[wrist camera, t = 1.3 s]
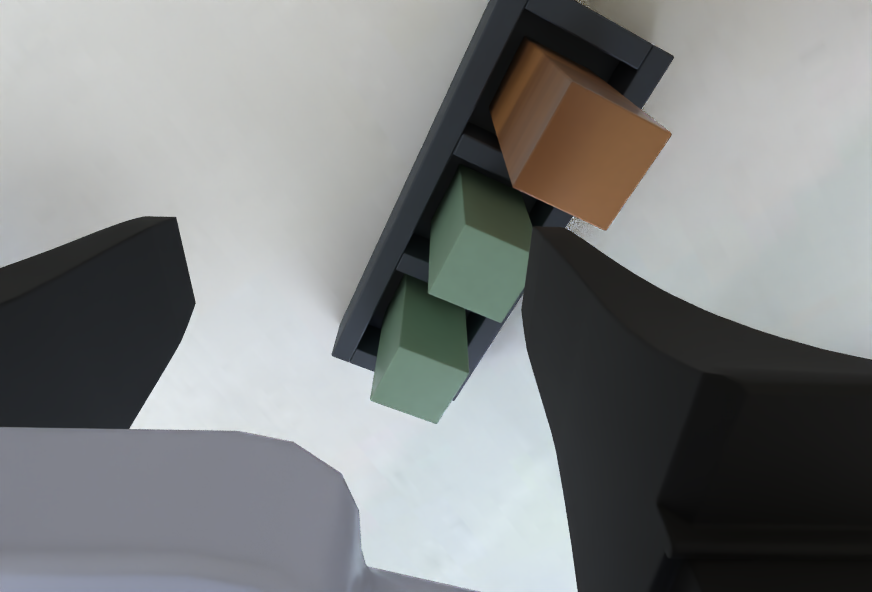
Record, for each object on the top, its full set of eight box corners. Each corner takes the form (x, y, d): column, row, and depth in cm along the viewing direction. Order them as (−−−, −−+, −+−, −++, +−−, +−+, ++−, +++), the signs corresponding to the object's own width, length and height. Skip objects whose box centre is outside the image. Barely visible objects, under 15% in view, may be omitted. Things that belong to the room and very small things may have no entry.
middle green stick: (521, 192, 22) (543, 258, 17) (489, 247, 23) (501, 323, 18) (460, 163, 21) (465, 223, 16) (430, 221, 22) (427, 293, 18)
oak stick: (591, 70, 19) (674, 134, 12) (551, 139, 21) (606, 232, 14) (524, 35, 19) (572, 81, 12) (488, 108, 20) (511, 187, 13)
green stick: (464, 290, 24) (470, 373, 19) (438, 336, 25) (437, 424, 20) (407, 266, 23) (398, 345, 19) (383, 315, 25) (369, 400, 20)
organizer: (651, 46, 19) (675, 57, 17) (453, 368, 26) (454, 401, 24) (505, -36, 18) (513, -34, 16) (339, 324, 25) (330, 356, 23)
